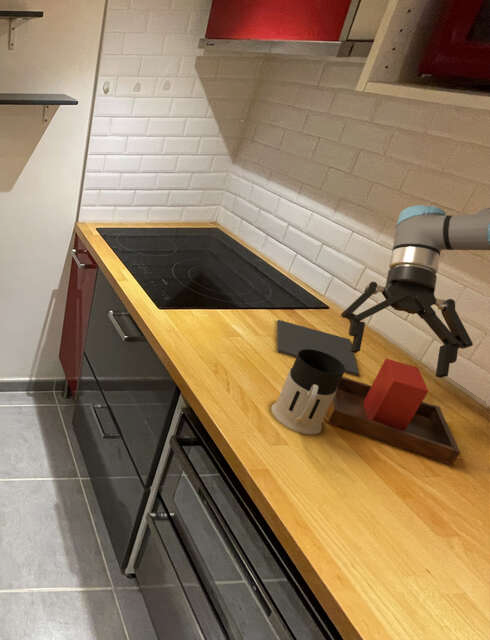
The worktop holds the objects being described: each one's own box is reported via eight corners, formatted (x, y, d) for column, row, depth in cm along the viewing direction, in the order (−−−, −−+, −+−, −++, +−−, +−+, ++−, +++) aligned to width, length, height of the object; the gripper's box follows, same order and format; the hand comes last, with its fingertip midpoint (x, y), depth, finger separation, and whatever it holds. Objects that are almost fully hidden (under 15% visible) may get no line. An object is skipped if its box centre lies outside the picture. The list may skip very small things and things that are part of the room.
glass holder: (322, 415, 94) (349, 359, 88) (318, 459, 84) (348, 399, 78) (274, 396, 99) (296, 341, 93) (264, 435, 89) (288, 377, 83)
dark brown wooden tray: (431, 419, 94) (439, 406, 93) (451, 466, 84) (460, 452, 82) (322, 384, 103) (328, 372, 102) (327, 422, 93) (334, 409, 91)
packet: (393, 411, 95) (418, 367, 90) (401, 437, 89) (428, 391, 84) (363, 402, 97) (385, 358, 92) (369, 426, 91) (393, 380, 86)
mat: (348, 341, 118) (350, 339, 118) (357, 376, 106) (358, 373, 106) (277, 321, 126) (278, 319, 126) (277, 351, 114) (278, 349, 113)
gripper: (482, 294, 95) (470, 390, 90) (335, 262, 107) (317, 345, 102) (505, 282, 89) (493, 385, 83) (346, 251, 101) (328, 338, 96)
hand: (396, 363), depth 93 cm, fingers open, 13 cm apart
